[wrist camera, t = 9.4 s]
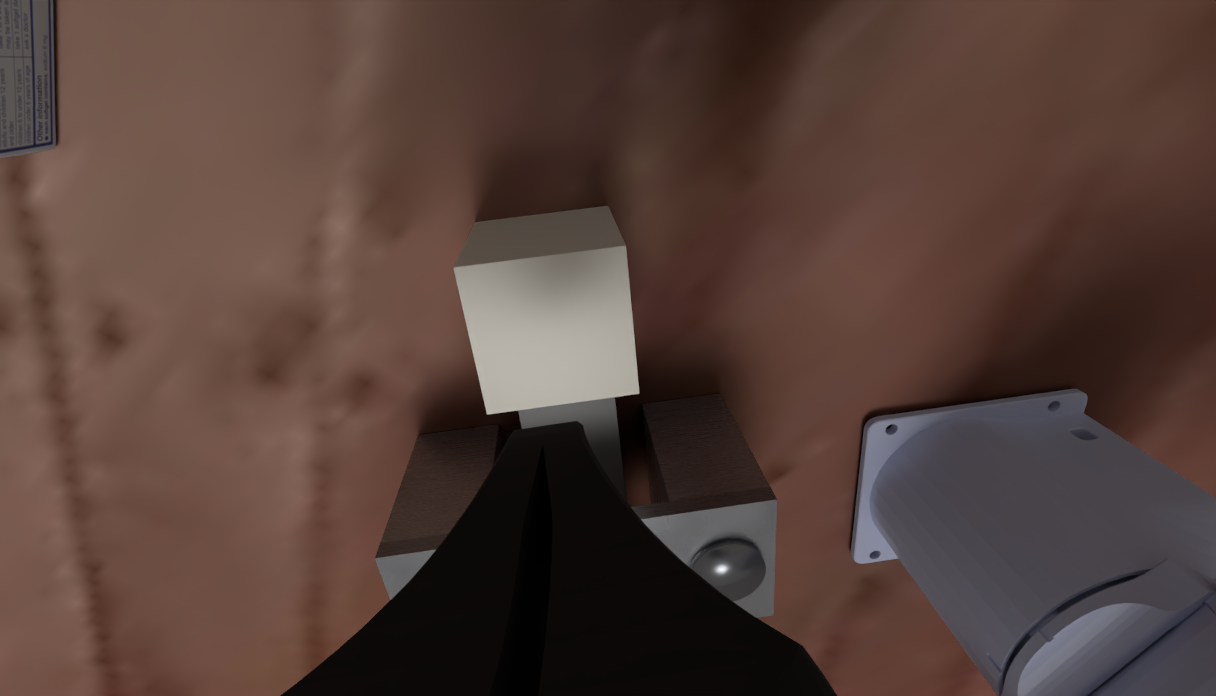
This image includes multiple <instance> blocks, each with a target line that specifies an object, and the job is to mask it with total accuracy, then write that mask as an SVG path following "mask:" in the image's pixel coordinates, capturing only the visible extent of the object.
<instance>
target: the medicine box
mask: <svg viewBox="0 0 1216 696" xmlns="http://www.w3.org/2000/svg"><path fill="white" fill-rule="evenodd" d="M55 146H56V125H55V83H54V26H53V0H0V158H3V157H9V156H16V155H23V154H28V153H33V152H41V151H47V150H52V149H54V148H55Z"/></svg>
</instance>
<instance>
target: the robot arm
mask: <svg viewBox="0 0 1216 696" xmlns="http://www.w3.org/2000/svg"><path fill="white" fill-rule="evenodd" d="M1087 400H1088V397H1087V395H1086V394H1085V393H1084V392H1082V391H1080V390H1078V389H1067V390H1060V391H1053V392H1046V393H1039V394H1032V395H1025V396H1018V397H1011V398H1004V399H997V400H990V401H983V402H976V403H969V404H962V405H955V406H947V407H940V408H933V409H926V410H919V411H912V412H905V413H898V414H891V415H884V416H877V417H874V418H871V419H870V420H868V421H867V423H866V424H865V426H864V432H863V442H862V451H861V460H860V470H859V479H858V488H857V498H856V507H855V516H854V526H853V535H852V544H851V556H852V558H853V559H854V561H855V562H856V563H859V564H864V563H871V562H877V561H884V560H891V559H897V558H899V560H900V561H901V563H902V564H903V565H904V567H905V568H906V569H907V571H908V572H909V574H910V575H911V576H912V578H913V579H914V581H915V582H916V583H917V585H918V586H919V588H920V589H921V590H922V592H923V593H924V594H925V596H926V597H927V599H928V600H929V601H930V603H931V604H932V606H933V607H934V608H935V610H936V611H937V613H938V614H939V615H940V617H941V618H942V619H943V621H944V622H945V624H946V625H947V626H948V628H949V629H950V631H951V632H952V633H953V635H954V636H955V637H956V639H957V640H958V642H959V643H960V644H961V646H962V647H963V649H964V650H965V651H966V653H967V654H968V656H969V657H970V658H971V660H972V661H973V662H974V664H975V665H976V667H977V668H978V669H979V671H980V672H981V674H982V675H983V676H984V678H985V679H986V681H987V682H988V683H989V685H990V686H991V687H992V689H993V690H994V692H995V693H996V694H997V696H1216V498H1215V497H1213V496H1212V495H1211V494H1209V493H1208V492H1206V491H1204V490H1203V489H1201V488H1200V487H1198V486H1197V485H1195V484H1194V483H1192V482H1190V481H1189V480H1187V479H1186V478H1184V477H1183V476H1181V475H1179V474H1178V473H1176V472H1175V471H1173V470H1172V469H1170V468H1169V467H1167V466H1165V465H1164V464H1162V463H1161V462H1159V461H1158V460H1156V459H1154V458H1153V457H1151V456H1150V455H1148V454H1147V453H1145V452H1144V451H1142V450H1140V449H1139V448H1137V447H1136V446H1134V445H1133V444H1131V443H1129V442H1128V441H1126V440H1125V439H1123V438H1122V437H1120V436H1118V435H1117V434H1115V433H1114V432H1112V431H1111V430H1109V429H1108V428H1106V427H1104V426H1103V425H1101V424H1100V423H1098V422H1097V421H1095V420H1093V419H1092V418H1090V417H1089V416H1087V415H1086V414H1084V411H1085V408H1086V404H1087ZM1049 404H1050V405H1049ZM891 424H892V426H891V427H890V428H889V429H886V428H887V427H888V426H889V425H891ZM281 696H837V695H836V693H835V692H834V690H833V689H832V687H831V686H830V684H829V683H828V681H827V679H826V678H825V676H824V675H823V673H822V672H821V671H820V669H819V668H818V666H817V665H816V664H815V662H814V661H813V659H812V658H811V657H810V655H809V654H808V653H807V651H806V650H805V649H804V647H803V646H802V645H800V644H798V643H797V642H795V641H794V640H792V639H790V638H789V637H787V636H785V635H784V634H782V633H780V632H779V631H777V630H775V629H774V628H772V627H770V626H769V625H767V624H765V623H764V622H762V621H761V620H759V619H758V618H756V617H754V616H753V615H751V614H750V613H748V612H747V611H746V610H744V609H743V608H741V607H740V606H739V605H737V604H736V603H734V602H733V601H732V600H730V599H729V598H727V597H726V596H725V595H723V594H722V593H720V592H719V591H718V590H717V589H716V588H714V587H713V586H712V585H711V584H709V583H708V582H707V581H706V580H705V579H703V578H702V577H701V576H700V575H698V574H697V573H696V572H695V571H694V570H692V569H691V568H690V567H689V566H688V565H686V564H685V563H684V562H683V561H682V560H680V559H679V558H678V557H677V556H676V555H675V554H674V553H673V552H672V551H671V550H670V549H669V548H668V547H667V546H666V545H665V544H664V543H663V542H662V541H661V540H660V539H659V538H658V537H657V536H656V535H655V534H654V533H653V532H652V531H651V530H650V529H649V528H648V527H647V526H646V525H645V523H644V522H643V521H642V520H641V519H640V518H639V517H638V515H637V514H636V513H635V512H634V511H633V509H632V508H631V507H630V506H629V504H628V503H627V502H626V501H625V499H624V498H623V497H622V496H621V494H620V493H619V491H618V490H617V489H616V487H615V486H614V485H613V483H612V482H611V480H610V479H609V477H608V475H607V474H606V472H605V471H604V469H603V468H602V466H601V465H600V463H599V461H598V460H597V458H596V456H595V454H594V452H593V450H592V449H591V447H590V444H589V442H588V440H587V437H586V435H585V431H584V426H583V425H582V424H581V423H579V422H578V421H572V422H565V423H559V424H552V425H545V426H538V427H532V428H525V429H518V430H514V431H513V432H512V433H511V434H510V436H509V437H508V439H507V441H506V443H505V445H504V447H503V449H502V451H501V453H500V455H499V456H498V458H497V460H496V462H495V463H494V465H493V467H492V469H491V470H490V472H489V474H488V476H487V477H486V479H485V480H484V482H483V484H482V485H481V487H480V488H479V490H478V492H477V493H476V495H475V496H474V498H473V500H472V501H471V503H470V504H469V506H468V507H467V509H466V510H465V511H464V513H463V514H462V516H461V517H460V518H459V520H458V521H457V522H456V524H455V525H454V527H453V528H452V529H451V531H450V532H449V534H448V535H447V536H446V538H445V539H444V540H443V542H442V543H441V544H440V545H439V547H438V548H437V549H436V551H435V552H434V553H433V554H432V555H431V557H430V558H429V559H428V560H427V561H426V563H425V564H424V565H423V566H422V567H421V568H420V570H419V571H418V572H417V573H416V574H415V575H414V576H413V578H412V579H411V580H410V581H409V582H408V583H407V584H406V585H405V586H404V587H403V588H402V589H401V590H400V591H399V592H398V593H397V594H396V595H395V596H394V597H393V598H392V599H391V600H390V601H389V602H388V603H387V604H386V605H385V606H384V607H383V608H382V609H381V610H380V611H379V612H378V613H377V614H376V615H375V616H374V617H373V618H372V619H371V620H370V621H369V622H368V623H367V624H366V625H365V626H364V627H363V628H362V629H360V630H359V631H358V632H357V633H356V634H355V635H354V636H353V637H351V638H350V639H349V640H348V641H347V642H346V643H345V644H344V645H342V646H341V647H340V648H339V649H338V650H337V651H336V652H334V653H333V654H332V655H331V656H330V657H328V658H327V659H326V660H325V661H324V662H322V663H321V664H320V665H319V666H318V667H316V668H315V669H314V670H313V671H312V672H310V673H309V674H308V675H307V676H305V677H304V678H303V679H302V680H300V681H299V682H298V683H297V684H295V685H294V686H293V687H291V688H290V689H289V690H287V691H286V692H285V693H283V694H282V695H281Z"/></svg>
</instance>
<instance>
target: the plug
mask: <svg viewBox="0 0 1216 696" xmlns="http://www.w3.org/2000/svg"><path fill="white" fill-rule="evenodd" d="M454 272H455V277H456V281H457V285H458V290H459V294H460V298H461V303H462V307H463V312H464V316H465V320H466V325H467V329H468V334H469V338H470V342H471V347H472V351H473V355H474V360H475V364H476V369H477V373H478V377H479V382H480V386H481V391H482V395H483V399H484V404H485V408H486V413H487V415H489V414H496V413H503V412H511V411H518V412H519V417H520V422H521V427H522V429H525V428H532V427H538V426H545V425H552V424H559V423H565V422H572V421H578V422H579V423H581V424H582V425H583V426H584V431H585V435H586V437H587V440H588V442H589V444H590V447H591V449H592V450H593V452H594V454H595V456H596V458H597V460H598V461H599V463H600V465H601V466H602V468H603V469H604V471H605V472H606V474H607V475H608V477H609V479H610V480H611V482H612V483H613V485H614V486H615V487H616V489H617V490H618V491H619V493H620V494H621V496H622V497H623V498H624V499H625V501H626V492H625V483H624V474H623V466H622V457H621V448H620V439H619V430H618V421H617V413H616V404H615V397H620V396H627V395H634V394H639V383H638V372H637V362H636V351H635V340H634V329H633V318H632V307H631V296H630V285H629V274H628V263H627V252H626V245H625V242H624V240H623V238H622V236H621V234H620V231H619V229H618V227H617V225H616V222H615V220H614V218H613V216H612V214H611V211H610V209H609V207H608V206H602V207H594V208H585V209H577V210H569V211H561V212H553V213H545V214H537V215H529V216H521V217H513V218H505V219H497V220H489V221H481V222H475V223H474V225H473V227H472V229H471V231H470V234H469V236H468V238H467V240H466V242H465V244H464V246H463V248H462V251H461V253H460V255H459V257H458V259H457V261H456V263H455V265H454ZM626 502H627V501H626Z"/></svg>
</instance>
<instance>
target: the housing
mask: <svg viewBox="0 0 1216 696" xmlns="http://www.w3.org/2000/svg"><path fill="white" fill-rule="evenodd" d="M642 409H643V420H644V431H645V442H646V453H647V464H648V476H649V487H650V498H651V504H648V505H641V506H634V507H631V508H632V509H633V511H634V512H635V513H636V514H637V515H638V517H639V518H640V519H641V520H642V521H643V522H644V523H645V525H646V526H647V527H648V528H649V529H650V530H651V531H652V532H653V533H654V534H655V535H656V536H657V537H658V538H659V539H660V540H661V541H662V542H663V543H664V544H665V545H666V546H667V547H668V548H669V549H670V550H671V551H672V552H673V553H674V554H675V555H676V556H677V557H678V558H679V559H680V560H682V561H683V562H684V563H685V564H686V565H688V566H689V567H690V568H691V569H692V570H694V571H695V572H696V573H697V574H698V575H700V576H701V577H702V578H703V579H705V580H706V581H707V582H708V583H709V584H711V585H712V586H713V587H714V588H716V589H717V590H718V591H719V592H720V593H722V594H723V595H725V596H726V597H727V598H729V599H730V600H732V601H733V602H734V603H736V604H737V605H739V606H740V607H741V608H743V609H744V610H746V611H747V612H748V613H750V614H751V615H753V616H754V617H756V618H758V617H764V616H771V615H773V613H774V581H775V549H776V517H777V498H776V497H775V495H774V493H773V491H772V489H771V487H770V485H769V484H768V482H767V480H766V478H765V476H764V474H763V472H762V470H761V469H760V467H759V465H758V463H757V461H756V459H755V457H754V456H753V454H752V452H751V450H750V448H749V446H748V444H747V443H746V441H745V439H744V437H743V435H742V433H741V431H740V429H739V428H738V426H737V424H736V422H735V420H734V418H733V416H732V415H731V413H730V411H729V409H728V407H727V405H726V403H725V402H724V400H723V398H722V396H721V394H720V393H719V394H712V395H705V396H698V397H690V398H683V399H676V400H669V401H661V402H654V403H647V404H642ZM503 447H504V446H503V442H502V437H501V433H500V428H499V424H495V425H488V426H481V427H474V428H467V429H459V430H452V431H445V432H438V433H431V434H423V435H418V437H417V440H416V443H415V446H414V448H413V451H412V454H411V457H410V460H409V463H408V465H407V468H406V471H405V474H404V477H403V480H402V483H401V485H400V488H399V491H398V494H397V497H396V500H395V503H394V505H393V508H392V511H391V514H390V517H389V520H388V522H387V525H386V528H385V531H384V534H383V537H382V540H381V542H380V545H379V548H378V551H377V554H376V557H375V560H376V563H377V565H378V568H379V571H380V573H381V576H382V579H383V581H384V584H385V587H386V589H387V592H388V595H389V598H390V600H391V599H392V598H393V597H394V596H395V595H396V594H397V593H398V592H399V591H400V590H401V589H402V588H403V587H404V586H405V585H406V584H407V583H408V582H409V581H410V580H411V579H412V578H413V576H414V575H415V574H416V573H417V572H418V571H419V570H420V568H421V567H422V566H423V565H424V564H425V563H426V561H427V560H428V559H429V558H430V557H431V555H432V554H433V553H434V552H435V551H436V549H437V548H438V547H439V545H440V544H441V543H442V542H443V540H444V539H445V538H446V536H447V535H448V534H449V532H450V531H451V529H452V528H453V527H454V525H455V524H456V522H457V521H458V520H459V518H460V517H461V516H462V514H463V513H464V511H465V510H466V509H467V507H468V506H469V504H470V503H471V501H472V500H473V498H474V496H475V495H476V493H477V492H478V490H479V488H480V487H481V485H482V484H483V482H484V480H485V479H486V477H487V476H488V474H489V472H490V470H491V469H492V467H493V465H494V463H495V462H496V460H497V458H498V456H499V455H500V453H501V451H502V449H503Z"/></svg>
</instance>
